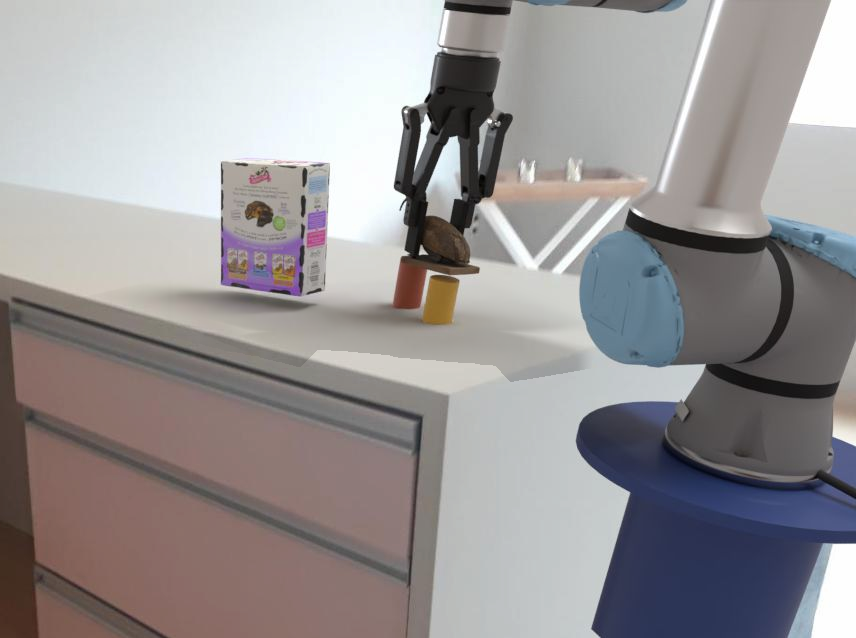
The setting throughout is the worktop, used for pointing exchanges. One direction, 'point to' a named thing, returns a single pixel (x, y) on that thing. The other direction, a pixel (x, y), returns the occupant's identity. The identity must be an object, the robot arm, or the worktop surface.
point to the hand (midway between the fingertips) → (431, 253)
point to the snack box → (274, 225)
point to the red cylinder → (409, 287)
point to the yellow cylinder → (440, 299)
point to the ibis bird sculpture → (442, 248)
